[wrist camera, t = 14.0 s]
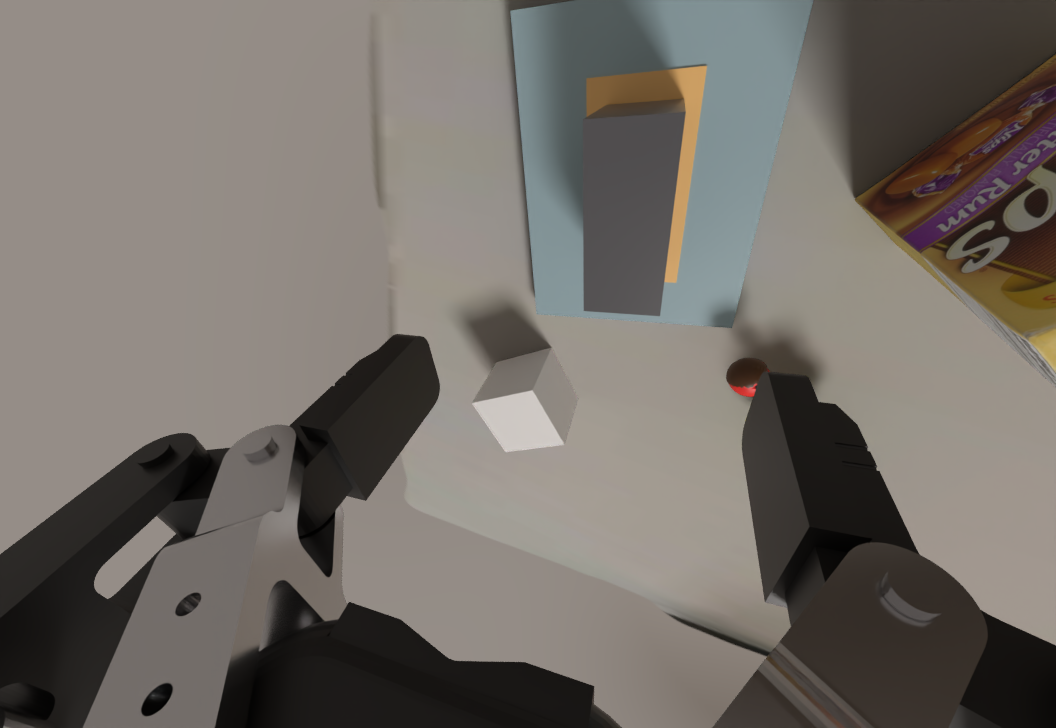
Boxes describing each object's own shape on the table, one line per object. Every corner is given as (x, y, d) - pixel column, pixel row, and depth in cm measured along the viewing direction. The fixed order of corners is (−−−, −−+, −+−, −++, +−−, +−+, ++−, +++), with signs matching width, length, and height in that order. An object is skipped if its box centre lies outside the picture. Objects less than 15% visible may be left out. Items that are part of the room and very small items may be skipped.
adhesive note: (578, 397, 37) (564, 445, 33) (525, 407, 40) (505, 452, 36) (551, 346, 35) (532, 390, 30) (496, 361, 38) (471, 403, 33)
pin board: (814, -34, 18) (842, -54, 15) (729, 317, 28) (735, 347, 25) (519, 13, 22) (493, 5, 19) (541, 305, 32) (527, 330, 29)
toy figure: (878, 472, 32) (916, 550, 27) (803, 488, 35) (824, 560, 30) (776, 309, 27) (799, 367, 22) (699, 344, 30) (703, 402, 25)
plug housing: (684, 98, 21) (685, 112, 15) (663, 263, 26) (659, 316, 21) (606, 104, 22) (582, 119, 16) (602, 261, 27) (583, 311, 22)
